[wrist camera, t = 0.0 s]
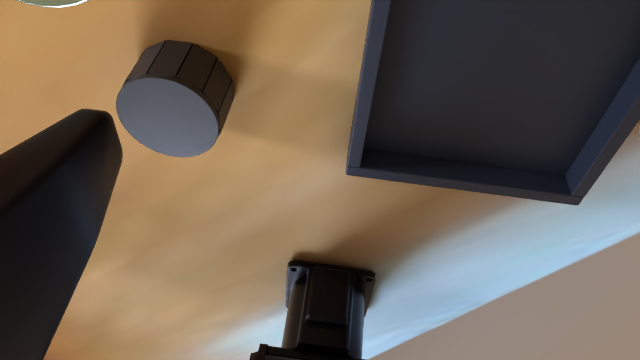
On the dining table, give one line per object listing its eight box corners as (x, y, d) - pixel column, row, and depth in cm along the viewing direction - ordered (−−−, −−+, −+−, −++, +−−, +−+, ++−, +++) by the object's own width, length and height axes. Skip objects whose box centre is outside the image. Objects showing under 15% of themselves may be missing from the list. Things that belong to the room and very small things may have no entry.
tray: (569, 178, 28) (578, 206, 26) (348, 149, 28) (345, 175, 26) (801, -177, 16) (839, -161, 14) (407, -222, 16) (407, -210, 14)
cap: (235, 124, 27) (221, 163, 25) (148, 113, 28) (128, 150, 25) (230, 47, 24) (214, 84, 22) (130, 35, 24) (104, 70, 22)
